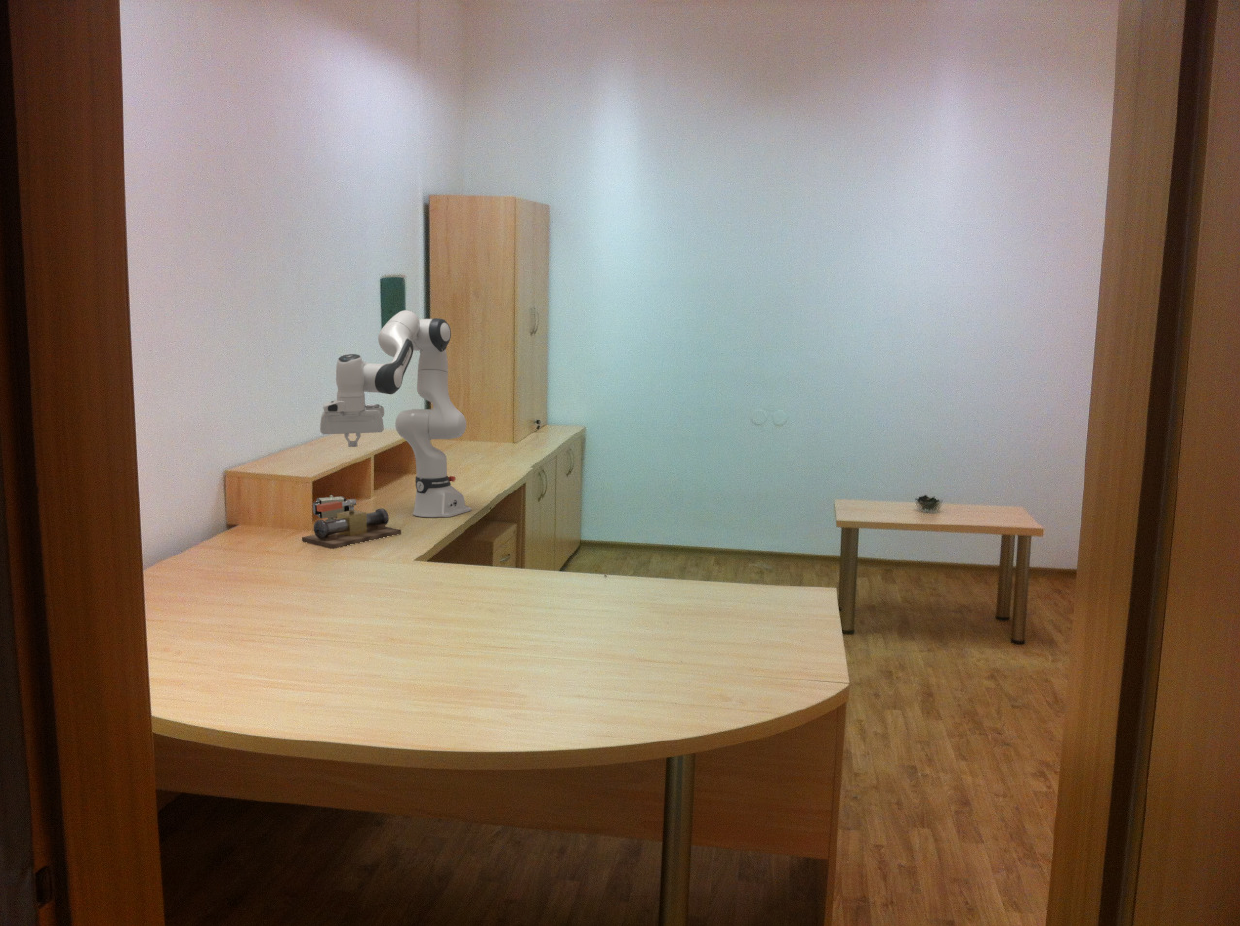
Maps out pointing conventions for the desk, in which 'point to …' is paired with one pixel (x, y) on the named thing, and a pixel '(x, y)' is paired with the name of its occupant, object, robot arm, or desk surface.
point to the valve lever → (335, 505)
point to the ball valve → (350, 523)
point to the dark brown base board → (352, 537)
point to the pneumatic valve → (332, 513)
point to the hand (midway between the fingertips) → (352, 446)
